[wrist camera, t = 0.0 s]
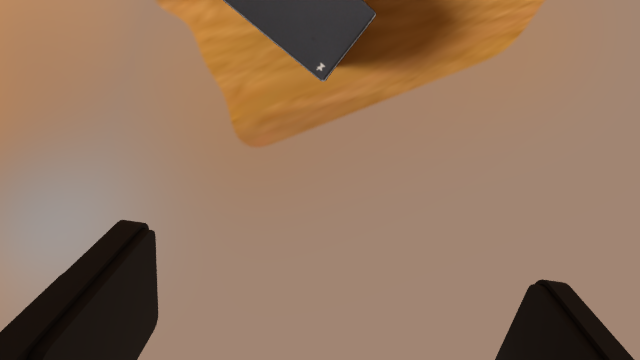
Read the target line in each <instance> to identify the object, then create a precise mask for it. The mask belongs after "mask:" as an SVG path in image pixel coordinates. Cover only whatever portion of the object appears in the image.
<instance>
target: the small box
mask: <svg viewBox="0 0 640 360" xmlns="http://www.w3.org/2000/svg"><path fill="white" fill-rule="evenodd" d="M223 1H224V2H226V3H227V4H228V5H229V6H230V7H232V8H233V9H234V10H235V11H236V12H238V13H239V14H240V15H241V16H242V17H244V18H245V19H246V20H247V21H249V22H250V23H251V24H252V25H253V26H255V27H256V28H257V29H258V30H259V31H261V32H262V33H263V34H264V35H266V36H267V37H268V38H269V39H270V40H272V41H273V42H274V43H275V44H276V45H278V46H279V47H280V48H282V49H283V50H284V51H285V52H286V53H287V54H289V55H290V56H291V57H292V58H294V59H295V60H296V61H297V62H298V63H300V64H301V65H302V66H303V67H305V68H306V69H307V70H308V71H310V72H311V73H312V74H313V75H314V76H316V77H317V78H318V79H319V80H320V81H326V80H327V78H328V77H329V75H330V74H331V73H332V71H333V70H334V69H335V68H336V66H337V65H338V64H339V63H340V61H341V60H342V59H343V58H344V56H345V55H346V53H347V52H348V51H349V50H350V48H351V47H352V46H353V45H354V43H355V42H356V41H357V40H358V38H359V37H360V36H361V34H362V33H363V32H364V31H365V30H366V28H367V27H368V25H369V24H370V23H371V22H372V21H373V19H374V18H375V16H376V12H375V11H374V10H373V9H372V8H371V7H370V6H369V5H367V4H366V3H365V2H364V1H363V0H223Z"/></svg>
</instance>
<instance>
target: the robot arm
mask: <svg viewBox="0 0 640 360" xmlns="http://www.w3.org/2000/svg"><path fill="white" fill-rule="evenodd" d="M156 272H157V269H156V242H155V232H154V231H152V230H149V228H148V225H147V224H146V223H141V222H134V221H127V220H120V221H119V222H117V223H116V224H115V225H114V226H113V227H112V228H111V229H110V230H109V231H108V232H107V233H106V234H105V235H104V236H103V237H102V238H100V239H99V240H98V241H97V242H96V243H95V244H94V245H93V246H92V247H91V248H90V249H89V250H88V251H87V252H86V253H85V254H84V255H83V256H82V257H80V258H79V259H78V260H77V261H76V262H75V263H74V264H73V265H72V266H71V267H70V268H69V269H68V270H67V271H66V272H65V273H63V274H62V275H60V276H59V277H58V278H57V279H56V280H55V281H54V282H53V283H52V284H51V285H50V286H49V287H48V288H47V289H45V291H43V292H42V293H41V294H40V295H39V296H38V297H37V298H36V299H35V300H34V301H33V302H32V303H31V304H30V305H29V306H27V307H26V308H25V309H24V310H23V311H22V312H21V313H20V314H19V315H18V316H17V317H16V318H15V319H14V320H13V321H12V322H11V323H9V324H8V325H7V326H6V327H5V328H4V329H3V330H2V331H1V332H0V360H137V359H138V357H139V355H140V353H141V352H142V350H143V348H144V347H145V345H146V343H147V341H148V340H149V338H150V336H151V334H152V333H153V331H154V329H155V326H156V324H157V320H158V296H157V273H156ZM495 360H634V359H633V358H632V357H631V355H630V354H629V353H628V352H627V351H626V350H625V349H624V347H623V346H622V345H621V344H620V343H619V342H618V341H617V340H616V339H615V337H614V336H613V335H612V334H611V333H610V332H609V330H608V329H607V328H606V327H605V326H604V325H603V323H602V322H601V321H600V320H599V319H598V318H597V317H596V316H595V314H594V313H593V312H592V311H591V310H590V309H589V308H588V306H587V305H586V304H585V303H584V302H583V301H582V300H581V299H580V297H579V296H578V295H577V294H576V293H575V292H574V291H573V289H572V288H571V287H570V286H569V285H567V284H566V283H562V282H555V281H548V280H539V281H537V282H536V283H535V284H533V285H531V286H529V288H528V290H527V292H526V294H525V296H524V298H523V300H522V302H521V305H520V307H519V309H518V311H517V313H516V316H515V318H514V320H513V322H512V324H511V326H510V328H509V331H508V333H507V335H506V337H505V339H504V342H503V344H502V346H501V348H500V350H499V352H498V354H497V356H496V359H495Z"/></svg>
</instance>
